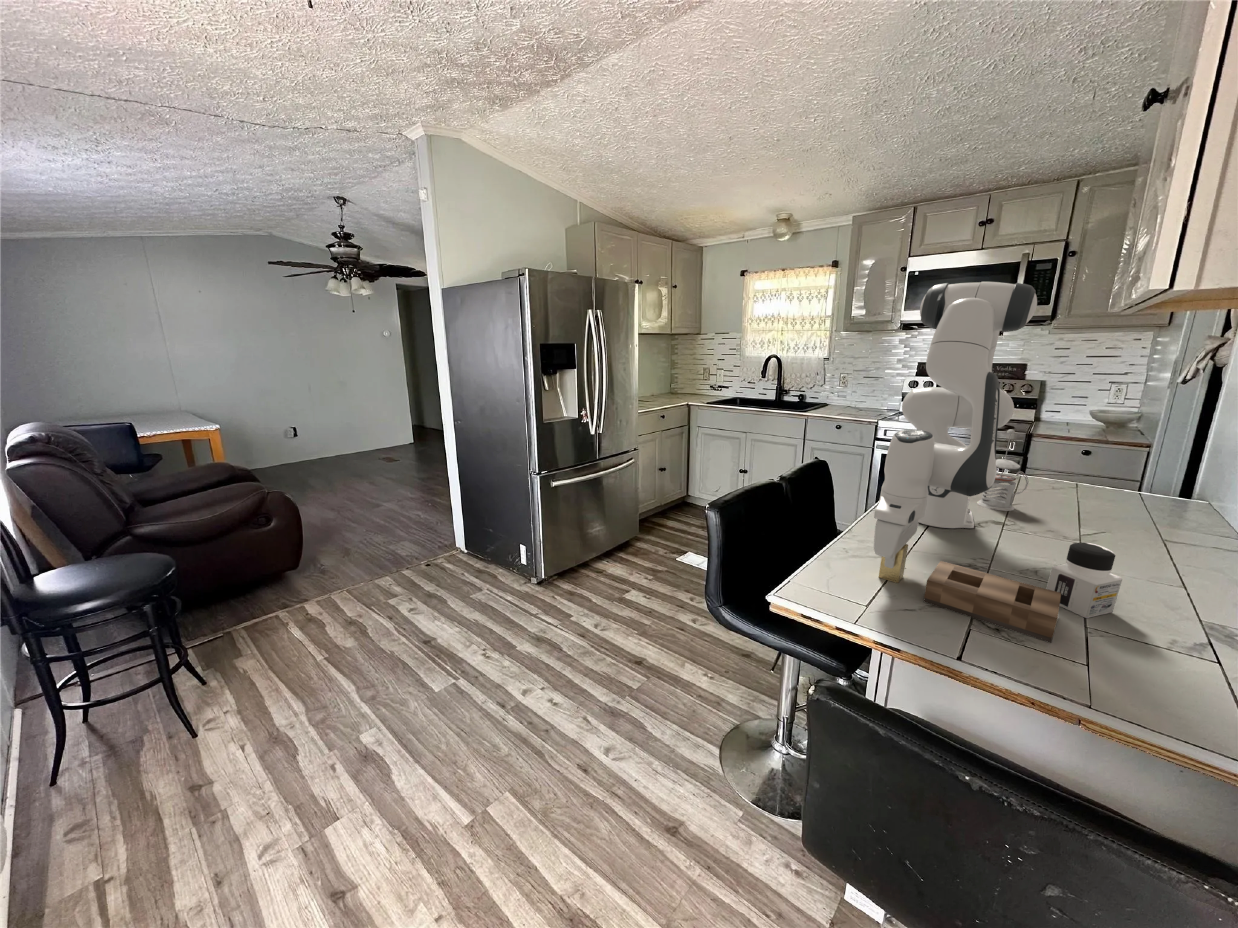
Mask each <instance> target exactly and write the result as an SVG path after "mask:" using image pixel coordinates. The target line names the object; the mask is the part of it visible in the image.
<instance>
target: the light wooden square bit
mask: <svg viewBox="0 0 1238 928" xmlns="http://www.w3.org/2000/svg"><path fill="white" fill-rule="evenodd" d="M908 549H909V544H907V543H906V544H905V545H904V546H903V547H902V548H901V550H900V551H899V552H898V553H897V554H896V557H895V559H896V563H895V566H894V567H893V568H888V567H886V566H885V565H884V564H885V557H882V556H881V558H880V565H879V572H878V578H880V579H883V580H885V581H886V580H887V581H889V582H892V583H895V584H899V583H900V582H901V580H902V579H904V575H905V569H906V567H905V566H906V561H907V555H908Z"/></svg>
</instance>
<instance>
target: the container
mask: <svg viewBox="0 0 1238 928" xmlns="http://www.w3.org/2000/svg"><path fill="white" fill-rule="evenodd" d="M1115 559H1116V554H1115V552H1114V551H1112V550H1111V549H1109V548H1107V547H1105V546H1103V545H1099V544H1095V543H1092V542H1091V543H1090V542H1075V543H1074V542H1073V543H1072V544H1070V545H1069V547H1068V551H1067V556H1066V559H1065V563H1060V564H1055V565H1052V566H1051V569H1050V572H1049V576H1048V580H1047V584H1046V588H1045V589H1048V590H1052V591H1056V592H1060V593H1061V598H1060V605H1059V607H1060V608H1063V609H1065V610H1067V611H1069V612H1071V613H1074V614H1076V615H1078V616H1081V617H1083V618H1085V619H1089V618H1092V617H1098V616H1101V615H1106V614H1110V613H1113V612H1114V610H1115V606H1116V603H1117V600H1118V596H1119V592H1120V589H1121V586H1122V585H1121V584H1122V582H1123V578H1122V576H1119V575H1116V574H1113V573H1112V570H1113V565H1114V564H1115V563H1114V562H1115Z"/></svg>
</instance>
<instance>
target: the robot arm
mask: <svg viewBox="0 0 1238 928" xmlns="http://www.w3.org/2000/svg"><path fill="white" fill-rule="evenodd" d="M1037 306H1038V297H1037V294H1036V289H1035V288H1034V287H1033V285H1030V284H1027V283H1020V282H1016V283H1009V282H999V281H981V282H980V281H979V282H960V283H951V284H950V283H949V282H945V283H939V284H935V285H933V286H931V287H930V288H929V289H928V290H927V291H926V294H925V295H924V296H923V298H922V300H921V303H920V307H919V314H920V322H921V323H922V324H923V325H924V327H928V328H930V329H934V330H935V331H934V333H933V336H932V338H931V342H930V345H929V349H928V353H927V356H926V362H925V370H926V374H927V375H928V377H929V378H930V379H931V380H932V381H933V382H934V384H936V385H938V387H937V386H928V387H920V388H913V389H911V390H910V391H909V392H908V393H907V394H906V395H905V396H904V398H903V401H902V404H901V410H902V411H901V412H902V415H903V416H904V418H905V419H906V421H907V422H909V423H910V424H911V425H912V426H914V429H913V428H912V429H911V428H910V429H902V430H899V431H897V432H895V433H894V434H893V436H892V437H891V440H890V442H889V446H888V450H887V453H886V457H885V463H884V470H883V471H884V481H883V483H882V486H881V491H880V495H879V500H878V503H877V506H876V507H875V508H874V509H875V510H874V512H873V518H874V519H876V522H875V526H874V539H873V550H874V554H875V555H876V556H879V557H881V558H882V557H885V564H884V565H885V566H886V567H888V568H893V567H894V566H895V563H896V559H895V557H896V554H897V553H898V552H899V551H900V550H901V548H902V547H903V546H904V545H905V544H907V543H908V542H909V541H910V540H911V539H912V538H913V536H914V535H915V534H916V533H917V531H918V527H919V523H920V524H923V525H927V526H930V527H935V528H943V529H961V528H962V529H964V528H965V529H974V528H975V523H974V517H973V512H972V510H971V509H970V508H969V505H970V500H971V499H970V498H969V497H974V496H977V495H980V494H983V492H985V491H987V490H991V489H992V488H991V487H992V485H993V483H994V481H995V478H996V474H997V467H996V460H997V441H998V440H997V439H998V428H999V429H1000V428H1002V427H1004V426H1005V425H1006V424H1008V423H1009V422H1010V420H1011V419H1012V417H1013V415H1014V411H1015V405H1014V402H1013V401H1014V400H1013V399H1012V397H1011V396H1010V395H1009V394H1008V393H1007V392H1005V391H1004V390H1002V389H1001V388H1000V381H999V378H998V376H997V374H995V373H994V372H993V361H994V356H995V352H996V348H997V345H998V340H999V335H1000V332H1002V333H1009V332H1016V331H1019V330H1020V329H1022V328H1024V327H1026V325H1027V323H1029V321H1030V320H1031V319H1032V318H1033V316H1034V314H1035V313H1036V310H1037ZM951 428H958V429H959V428H960V429H969V430H970V442H969V444H968V445H966V444H965V443H964V442H963V441H960V440H958V439H957V438H955V437H953V436H952V435H950V434H949V429H951Z"/></svg>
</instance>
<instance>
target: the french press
mask: <svg viewBox="0 0 1238 928" xmlns="http://www.w3.org/2000/svg"><path fill="white" fill-rule="evenodd" d="M1015 432H1016V431H1015V430H1014V429H1008V430H1006V433H1007V434H1009V438H1008V442H1007V445H1006V452H1005V457H1004V458H1003V459H1001V458H997V459H996V469H997V468H998V469H1002V470H1001V471H1002V472H1001V473H996V478H995V481H994V483H993V485H992V487H991V488H990V489H989V490H987V491H985V492H983V493H981V494H982V495H981V499H979V500H978V501H977V502H976V504H978V506H981V507H983V508H987V509H990V510H996V511H1004V512H1007V511H1008V512H1011V511H1012V512H1013V511H1014V510H1015V507H1014V506H1013V501H1014V498H1015V495H1020V494H1022V493H1023V492H1025V491H1026V490H1027V487H1028V485H1029V478H1028V475H1027V474H1026V473H1024V472H1023V471H1021V470H1019V469H1020V468H1021V465H1020V464H1018V463H1017V462H1015V461H1013V460H1009V459H1007V454H1008V449H1009V445H1010V441H1011V435H1012V434H1013V435H1014V434H1015ZM1004 469H1005V470H1019V471H1017V472H1016V476H1017V477H1018V476H1019V475H1020V474H1021V475H1022V476H1023V477H1024V480H1025V486H1024V488H1023V489H1022V490H1021V491H1017V492H1015V489H1016V484H1017V483H1016V482H1015V481H1016V478H1015V477H1014V476H1011V475H1007V474H1003V472H1004ZM1003 483H1004V484H1003ZM995 492H996V493H995ZM1014 492H1015V493H1014Z"/></svg>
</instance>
